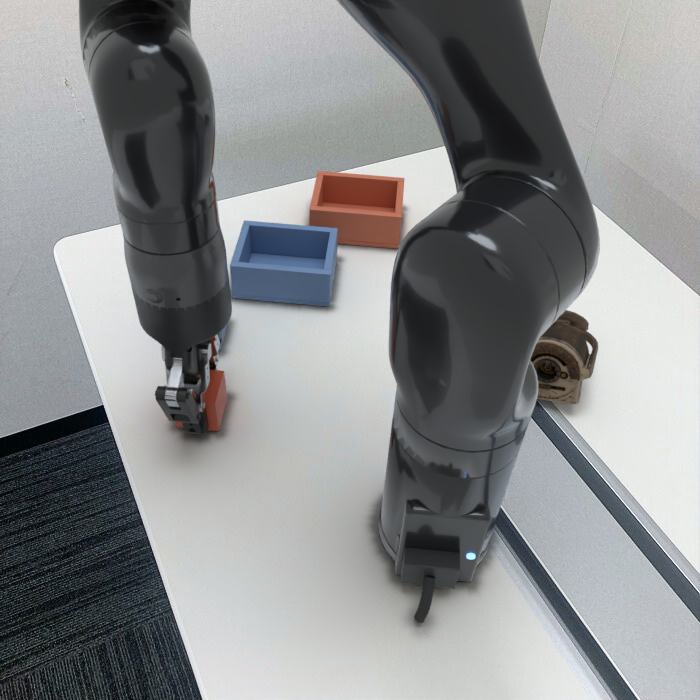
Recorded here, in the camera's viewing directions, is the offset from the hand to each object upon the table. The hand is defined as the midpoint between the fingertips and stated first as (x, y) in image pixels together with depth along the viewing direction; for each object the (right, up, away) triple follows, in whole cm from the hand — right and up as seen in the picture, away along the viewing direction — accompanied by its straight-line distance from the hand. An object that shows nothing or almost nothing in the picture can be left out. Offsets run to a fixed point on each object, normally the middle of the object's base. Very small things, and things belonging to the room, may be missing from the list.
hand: (202, 410), depth 71 cm
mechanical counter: (+35, +4, +6) cm, 35 cm away
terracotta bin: (+15, +21, +21) cm, 33 cm away
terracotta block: (0, 0, 0) cm, 0 cm away
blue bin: (+7, +14, +14) cm, 21 cm away
